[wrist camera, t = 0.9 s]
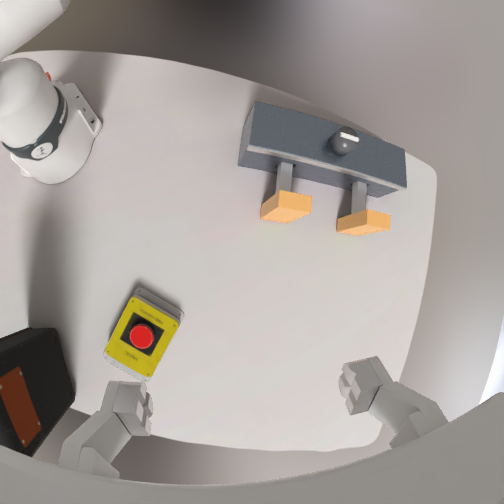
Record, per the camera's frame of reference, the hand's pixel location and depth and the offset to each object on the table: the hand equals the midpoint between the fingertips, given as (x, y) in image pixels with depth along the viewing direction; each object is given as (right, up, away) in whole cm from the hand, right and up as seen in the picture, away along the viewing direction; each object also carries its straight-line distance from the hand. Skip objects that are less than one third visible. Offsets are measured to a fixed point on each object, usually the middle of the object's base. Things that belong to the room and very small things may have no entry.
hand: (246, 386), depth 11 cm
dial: (+15, +23, +33) cm, 43 cm away
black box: (-37, -15, +29) cm, 49 cm away
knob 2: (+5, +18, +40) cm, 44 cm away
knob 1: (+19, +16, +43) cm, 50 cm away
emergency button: (-18, -9, +34) cm, 40 cm away
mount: (+13, +23, +42) cm, 50 cm away
